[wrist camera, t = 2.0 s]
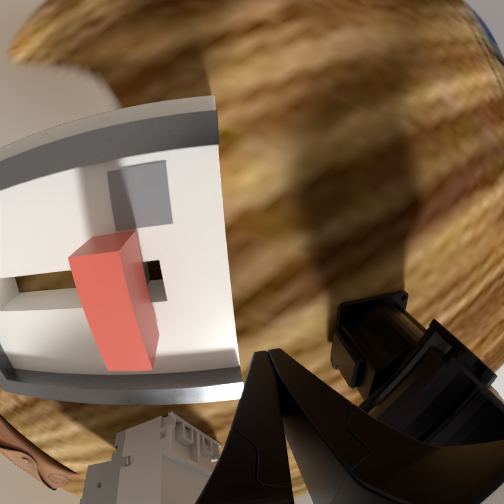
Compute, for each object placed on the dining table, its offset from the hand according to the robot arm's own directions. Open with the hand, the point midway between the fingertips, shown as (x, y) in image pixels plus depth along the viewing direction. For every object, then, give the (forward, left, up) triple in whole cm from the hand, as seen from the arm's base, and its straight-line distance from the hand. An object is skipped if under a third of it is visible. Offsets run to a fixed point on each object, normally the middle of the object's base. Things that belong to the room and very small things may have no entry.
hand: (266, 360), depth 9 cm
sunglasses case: (+34, +27, -11) cm, 45 cm away
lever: (+6, 0, -9) cm, 11 cm away
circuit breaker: (+12, +21, -10) cm, 26 cm away
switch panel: (+11, 0, -10) cm, 14 cm away
